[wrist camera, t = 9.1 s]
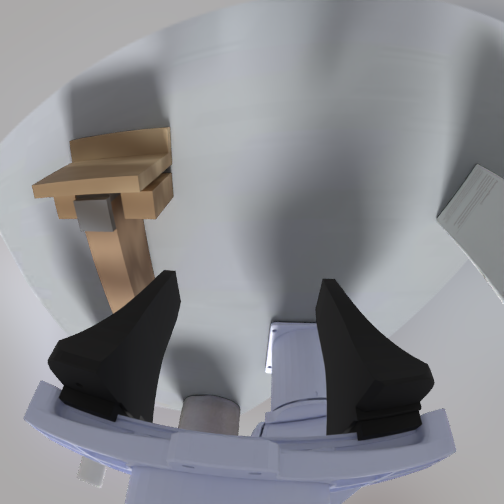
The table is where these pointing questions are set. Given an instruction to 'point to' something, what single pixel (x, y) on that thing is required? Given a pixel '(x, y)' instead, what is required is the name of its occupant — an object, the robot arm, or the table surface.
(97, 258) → the brown wooden block
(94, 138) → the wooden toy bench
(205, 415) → the pillar candle
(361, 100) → the table surface
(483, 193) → the supplement box
